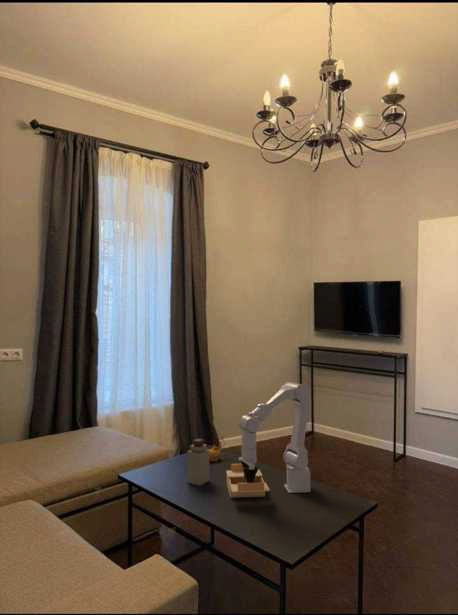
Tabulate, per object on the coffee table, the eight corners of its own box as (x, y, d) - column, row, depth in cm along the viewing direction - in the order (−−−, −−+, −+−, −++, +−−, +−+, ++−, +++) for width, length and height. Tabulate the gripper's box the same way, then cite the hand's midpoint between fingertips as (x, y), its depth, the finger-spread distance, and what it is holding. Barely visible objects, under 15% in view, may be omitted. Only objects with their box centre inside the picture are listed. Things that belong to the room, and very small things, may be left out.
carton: (258, 483, 189) (259, 471, 189) (265, 496, 175) (265, 483, 175) (226, 484, 187) (226, 472, 187) (230, 497, 173) (230, 485, 174)
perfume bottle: (209, 480, 191) (209, 439, 191) (199, 485, 185) (200, 443, 186) (196, 477, 195) (196, 437, 195) (187, 482, 189) (187, 440, 189)
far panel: (259, 470, 189) (259, 463, 189) (262, 476, 182) (262, 468, 182) (226, 471, 188) (226, 464, 188) (227, 477, 181) (227, 469, 181)
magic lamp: (191, 461, 216) (191, 439, 217) (221, 455, 227) (221, 433, 227) (198, 465, 211) (198, 442, 211) (228, 458, 221) (229, 436, 221)
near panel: (266, 484, 174) (266, 475, 174) (269, 491, 167) (269, 482, 167) (230, 485, 172) (230, 477, 172) (232, 492, 165) (232, 484, 165)
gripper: (236, 441, 179) (236, 475, 178) (241, 452, 164) (241, 489, 164) (253, 441, 179) (253, 474, 179) (259, 452, 165) (259, 488, 165)
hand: (248, 481), depth 171 cm, fingers open, 7 cm apart
